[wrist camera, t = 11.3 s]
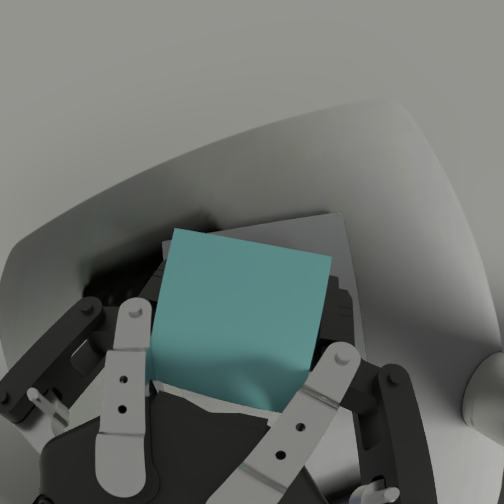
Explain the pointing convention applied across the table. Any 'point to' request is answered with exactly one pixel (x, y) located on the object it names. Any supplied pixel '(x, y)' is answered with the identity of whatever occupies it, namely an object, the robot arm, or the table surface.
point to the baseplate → (308, 240)
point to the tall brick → (238, 318)
